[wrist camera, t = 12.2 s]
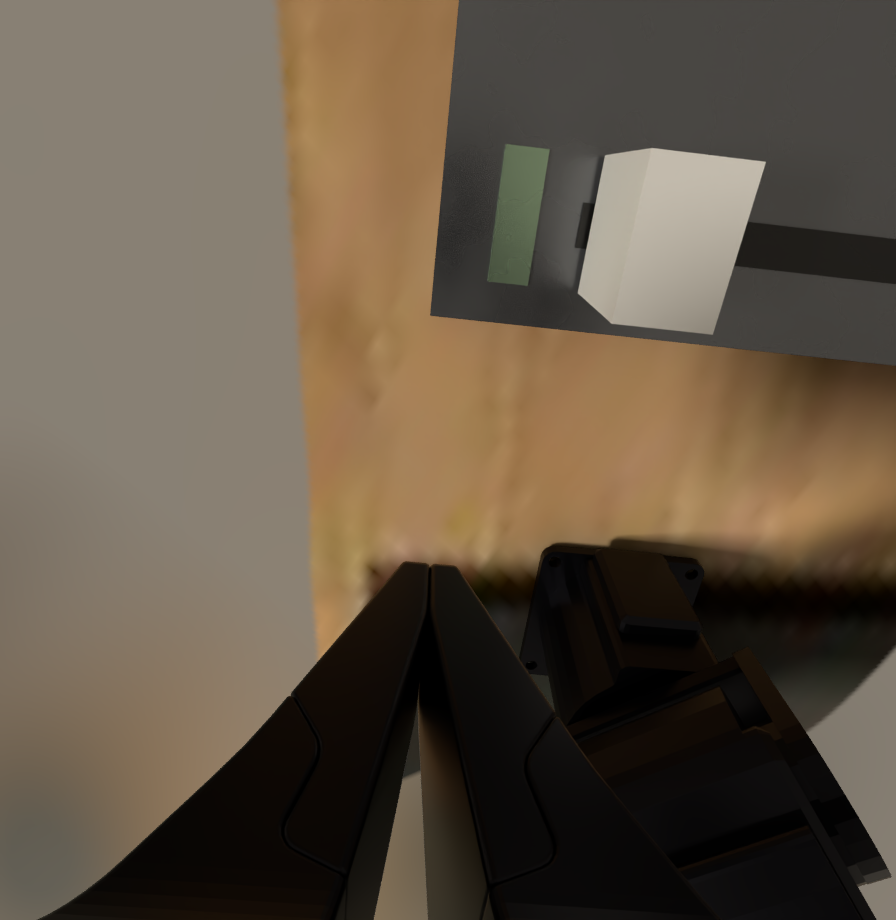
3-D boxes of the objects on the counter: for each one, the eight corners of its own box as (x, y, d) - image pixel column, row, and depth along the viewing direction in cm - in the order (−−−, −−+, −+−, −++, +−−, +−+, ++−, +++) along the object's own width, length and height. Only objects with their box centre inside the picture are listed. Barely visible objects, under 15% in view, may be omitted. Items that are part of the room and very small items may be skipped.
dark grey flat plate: (984, 365, 20) (1025, 380, 18) (431, 305, 19) (430, 316, 18) (1351, -331, 13) (1464, -394, 11) (503, -469, 12) (510, -558, 11)
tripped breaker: (658, 301, 17) (712, 334, 13) (577, 293, 17) (611, 323, 13) (693, 165, 16) (765, 161, 12) (605, 155, 15) (651, 147, 12)
